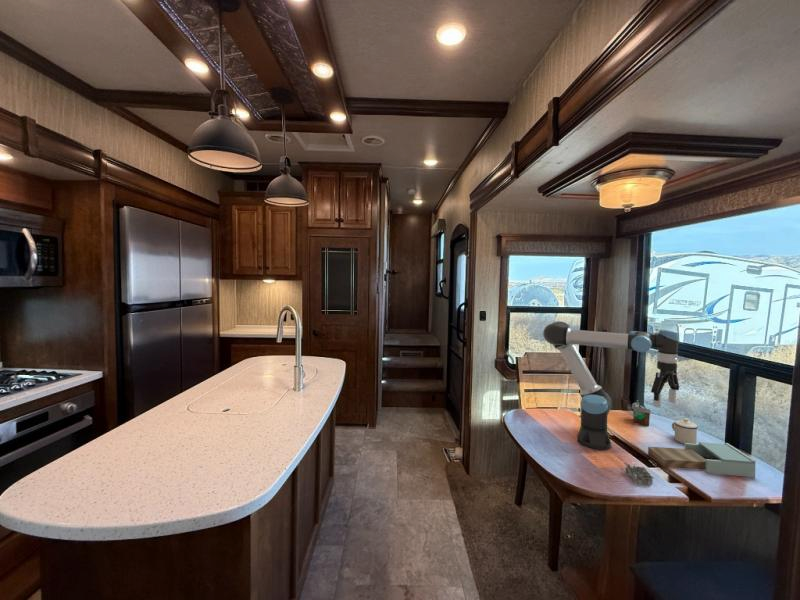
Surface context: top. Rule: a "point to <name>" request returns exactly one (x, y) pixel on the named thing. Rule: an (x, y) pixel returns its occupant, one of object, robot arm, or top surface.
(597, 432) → the robot arm
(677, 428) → the teacup with lid
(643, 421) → the food container
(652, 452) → the panel
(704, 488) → the top surface
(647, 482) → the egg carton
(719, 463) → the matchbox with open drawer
